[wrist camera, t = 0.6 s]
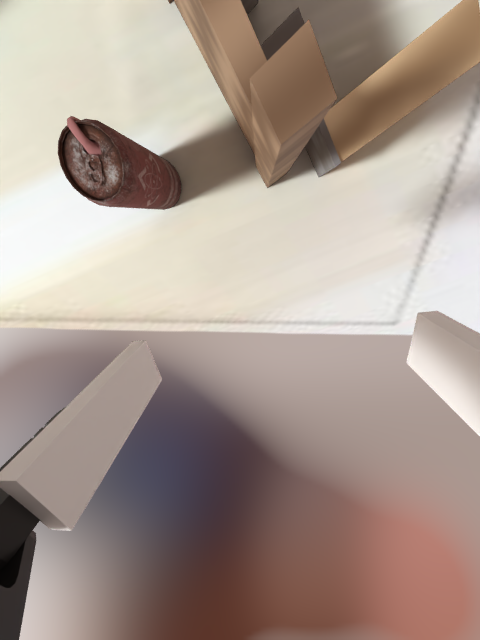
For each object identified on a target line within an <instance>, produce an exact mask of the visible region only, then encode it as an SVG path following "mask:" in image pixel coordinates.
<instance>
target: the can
mask: <svg viewBox="0 0 480 640" xmlns="http://www.w3.org/2000/svg"><path fill="white" fill-rule="evenodd" d="M58 156H59V160H60V165H61V167H62V170H63V172H64V174H65V176H66V178H67V179H68V181H69V182H70V183H71V185H72V186H73V187H74V188H75V189H76V190H77V191H78V192H79V193H80V194H82V195H83V196H85V197H86V198H87V199H88V200H90V201H92V202H94V203H96V204H98V205H102V206H109V207H126V208H145V209H163V210H164V209H168V208H171V207H172V206H174V205H175V204H176V203H177V201H178V200H179V197H180V194H181V181H180V178H179V175H178V173H177V171H176V169H175V168H174V167H173V166H172V165H171V163H170V162H168V161H167V160H165V159H163V158H161V157H160V156H158V155H156V154H155V153H153V152H151V151H149V150H148V149H146V148H144V147H143V146H141V145H139V144H137V143H136V142H134V141H132V140H131V139H129V138H127V137H125V136H124V135H122V134H120V133H119V132H117V131H115V130H114V129H112V128H110V127H108V126H106V125H105V124H103V123H101V122H99V121H97V120H90V119H84V120H79V119H77V118H75V117H73V116H71V117H69V118H68V119H67V126H66V127H65V128H64V129H63V130H62V132H61V135H60V138H59V140H58Z"/></svg>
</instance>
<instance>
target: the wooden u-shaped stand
mask: <svg viewBox="0 0 480 640" xmlns="http://www.w3.org/2000/svg"><path fill="white" fill-rule="evenodd" d="M168 1H169V3H171V1H172V0H168ZM174 2H175V4H176V5H177V7H178V9H179V11H180V13H181V15H182V17H183V19H184V21H185V23H186V25H187V27H188V28H189V30H190V32H191V34H192V36H193V38H194V40H195V42H196V44H197V46H198V48H199V50H200V51H201V53H202V55H203V57H204V59H205V61H206V63H207V65H208V67H209V69H210V71H211V73H212V74H213V76H214V78H215V80H216V82H217V84H218V86H219V88H220V90H221V92H222V94H223V95H224V97H225V99H226V101H227V103H228V105H229V107H230V109H231V111H232V113H233V115H234V117H235V118H236V120H237V122H238V124H239V126H240V128H241V130H242V132H243V134H244V136H245V138H246V140H247V141H248V143H249V145H250V147H251V149H252V151H253V153H254V155H255V162H256V167H257V169H258V171H259V173H260V175H261V177H262V179H263V181H264V183H265V184H266V186H267V188H268V187H269V186H271V185H272V184H273V183H275V182H276V181H277V180H279V179H280V178H281V177H282V176H284V175H285V174H286V173H287V172H288V171H289V169H290V168H291V166H292V165H293V163H294V162H295V160H296V159H297V157H298V156H299V154H300V153H301V151H302V150H303V148H304V147H305V145H306V144H307V142H308V141H309V139H310V138H311V136H312V135H313V134H314V132H315V131H316V129H317V128H318V126H319V125H320V123H321V122H322V120H323V119H324V117H325V116H326V114H327V113H328V111H329V110H330V108H331V107H332V105H333V104H334V102H335V101H336V99H337V96H336V93H335V90H334V87H333V85H332V82H331V79H330V76H329V74H328V71H327V68H326V65H325V63H324V60H323V57H322V54H321V51H320V49H319V46H318V43H317V40H316V38H315V35H314V32H313V29H312V26H311V24H310V21H309V20H308V21H307V22H306V23H305V24H304V21H303V19H302V16H301V13H300V10H299V8H297V9H296V10H295V11H294V12H293V13H292V14H291V15H290V16H289V17H288V18H287V19H286V20H285V21H284V22H283V23H282V24H281V25H280V26H279V27H278V28H277V29H276V30H275V32H274V33H273V34H272V35H271V36H270V37H269V38H268V39H267V40H266V41H265V42H264V43H263V44H262V45H261V46H260V43H259V41H258V39H257V37H256V34H255V32H254V30H253V27H252V25H251V23H250V21H249V18H248V16H247V14H248V13H249V12H250V11H251V10H252V9H253V8H254V6H255V5H256V4H257V3H258V0H174Z"/></svg>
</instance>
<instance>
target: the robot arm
mask: <svg viewBox="0 0 480 640" xmlns="http://www.w3.org/2000/svg"><path fill="white" fill-rule="evenodd" d="M407 364H408V365H409V366H410V367H411V368H412V369H413V370H414V371H415V372H416V373H417V374H418V375H419V376H420V377H421V378H422V379H423V380H424V381H425V382H426V383H427V384H428V385H429V386H430V387H431V388H432V389H433V390H434V391H435V392H436V393H437V394H438V395H439V396H440V397H441V398H442V399H443V400H444V401H445V402H446V403H447V404H448V405H449V406H450V407H451V408H452V409H453V410H454V411H455V412H456V413H457V414H458V415H459V416H460V417H461V418H462V419H463V420H464V421H465V422H466V423H467V424H468V425H469V426H470V427H471V428H472V429H473V430H474V431H475V432H476V433H477V434H478V435H479V436H480V334H479V333H478V332H476V331H474V330H472V329H470V328H468V327H466V326H465V325H463V324H461V323H459V322H457V321H455V320H453V319H451V318H450V317H448V316H446V315H444V314H442V313H440V312H438V311H432V312H422V313H418V314H417V319H416V323H415V327H414V332H413V336H412V341H411V345H410V350H409V354H408V358H407ZM161 381H162V378H161V376H160V373H159V371H158V368H157V366H156V364H155V361H154V359H153V357H152V354H151V352H150V349H149V347H148V345H147V342H146V340H143V341H133V342H132V343H131V344H130V345H129V346H128V347H127V348H126V349H125V350H124V351H123V352H122V353H120V355H118V356H117V357H116V358H115V359H114V360H113V361H112V363H110V364H109V365H108V366H107V367H106V368H105V369H104V370H103V371H102V372H101V373H100V374H99V375H98V376H97V377H96V378H95V379H94V380H93V381H92V382H91V383H90V384H89V385H88V386H87V387H86V388H85V389H84V390H83V391H82V392H81V393H80V394H79V395H78V396H77V397H76V398H75V399H74V400H73V401H72V402H71V403H70V404H69V405H68V406H66V407H65V408H63V409H62V410H61V411H59V412H58V413H57V414H56V415H55V416H54V417H53V418H51V420H49V422H47V423H46V424H45V427H44V428H41V429H40V430H39V431H38V432H37V433H36V434H35V435H34V438H32V439H30V440H29V441H28V442H27V443H26V444H25V445H24V446H23V447H22V448H21V449H20V450H19V451H17V452H16V453H15V454H14V455H13V457H11V458H10V459H9V460H8V461H7V462H6V463H5V464H4V465H3V466H2V467H1V468H0V640H19V636H20V630H21V625H22V618H23V613H24V608H25V602H26V596H27V590H28V584H29V579H30V573H31V567H32V562H33V556H34V550H35V545H36V533H35V532H34V531H32V530H33V529H34V527H35V526H36V525H37V523H38V522H39V521H41V522H42V523H43V524H45V525H46V526H47V527H48V528H49V529H51V530H70V531H71V530H72V529H73V528H74V526H75V524H76V522H77V521H78V519H79V518H80V516H81V514H82V513H83V511H84V509H85V508H86V506H87V504H88V503H89V501H90V499H91V498H92V496H93V494H94V493H95V491H96V489H97V488H98V486H99V484H100V483H101V481H102V479H103V478H104V476H105V474H106V472H107V471H108V469H109V468H110V466H111V464H112V463H113V461H114V459H115V458H116V456H117V454H118V453H119V451H120V449H121V448H122V446H123V444H124V443H125V441H126V439H127V438H128V436H129V434H130V433H131V431H132V429H133V428H134V426H135V424H136V423H137V421H138V419H139V418H140V416H141V414H142V413H143V411H144V409H145V408H146V406H147V404H148V403H149V401H150V399H151V398H152V396H153V394H154V392H155V391H156V389H157V387H158V386H159V384H160V382H161Z"/></svg>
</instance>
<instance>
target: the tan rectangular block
mask: <svg viewBox="0 0 480 640" xmlns="http://www.w3.org/2000/svg"><path fill="white" fill-rule="evenodd" d="M479 62H480V10H479V2H478V0H462V1H461V2H460V3H459V4H458V5H456V6H455V7H454V8H453V9H452V10H450V11H449V12H448V13H447V14H445V15H444V16H443V17H442V18H441V19H439V20H438V21H437V22H436V23H434V24H433V25H432V26H431V27H430V28H428V29H427V30H426V31H425V32H423V33H422V34H421V35H420V36H419V37H417V38H416V39H415V40H414V41H412V42H411V43H410V44H409V45H408V46H406V47H405V48H404V49H403V50H401V51H400V52H399V53H398V54H397V55H395V56H394V57H393V58H392V59H390V60H389V61H388V62H387V63H386V64H384V65H383V66H382V67H381V68H379V69H378V70H377V71H376V72H375V73H373V74H372V75H371V76H370V77H368V78H367V79H366V80H365V81H364V82H362V83H361V84H360V85H359V86H357V87H356V88H355V89H354V90H353V91H351V92H350V93H349V94H348V95H347V96H345V97H344V98H343V99H342V100H340V101H339V102H338V103H337V104H336V105H334V106H333V107H332V108H331V109H330V110H329V111H328V113H327V114H326V116H325V117H324V119H323V120H322V122H321V123H320V125H319V126H318V128H317V129H316V131H315V132H314V134H313V135H312V136H311V138H310V139H309V141H308V142H307V144H306V145H305V147H306V149H307V152H308V154H309V156H310V159H311V161H312V163H313V165H314V168H315V170H316V172H317V175H318V177H320V176H322V175H323V174H325V173H327V172H328V171H330V170H331V169H333V168H335V167H336V166H338V165H339V164H340V163H341V162H342V161H343V160H345V159H346V158H348V157H349V156H350V155H352V154H353V153H355V152H356V151H357V150H359V149H360V148H361V147H363V146H364V145H366V144H367V143H368V142H370V141H371V140H373V139H374V138H375V137H377V136H378V135H379V134H381V133H382V132H384V131H385V130H386V129H388V128H389V127H391V126H392V125H393V124H395V123H396V122H397V121H399V120H400V119H402V118H403V117H404V116H406V115H407V114H409V113H410V112H411V111H413V110H414V109H415V108H417V107H418V106H420V105H421V104H422V103H424V102H425V101H426V100H428V99H429V98H431V97H432V96H433V95H435V94H436V93H438V92H439V91H440V90H442V89H443V88H444V87H446V86H447V85H449V84H450V83H451V82H453V81H454V80H456V79H457V78H458V77H460V76H461V75H462V74H464V73H465V72H467V71H468V70H469V69H471V68H472V67H474V66H475V65H476V64H478V63H479Z"/></svg>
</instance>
